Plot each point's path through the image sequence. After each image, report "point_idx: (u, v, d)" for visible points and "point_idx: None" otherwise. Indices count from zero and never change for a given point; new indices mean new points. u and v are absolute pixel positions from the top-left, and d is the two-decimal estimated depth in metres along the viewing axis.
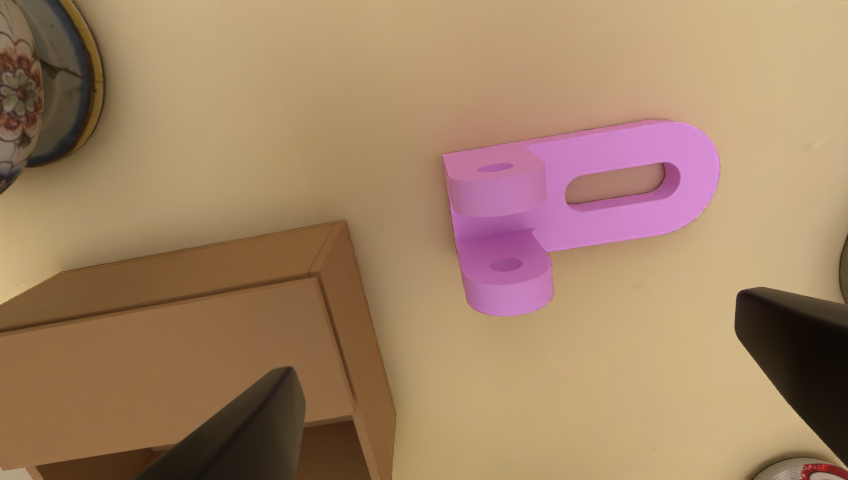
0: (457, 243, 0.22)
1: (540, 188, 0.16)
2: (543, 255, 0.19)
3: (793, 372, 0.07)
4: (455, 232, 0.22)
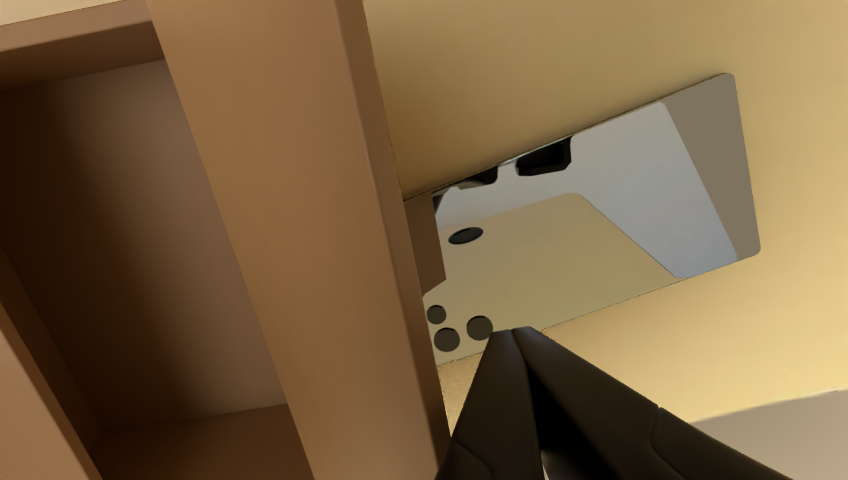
0: None
1: None
2: None
3: None
4: None
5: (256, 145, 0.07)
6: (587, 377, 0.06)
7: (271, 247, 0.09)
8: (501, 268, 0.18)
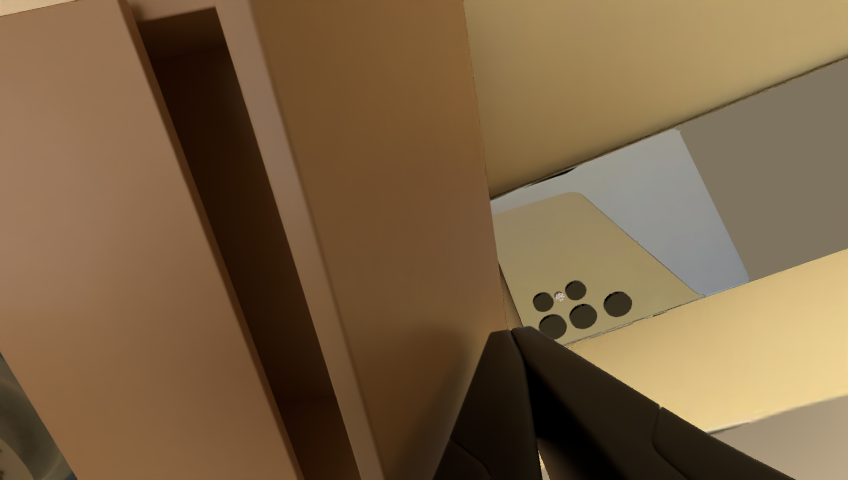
0: None
1: None
2: None
3: None
4: None
5: None
6: (588, 377, 0.06)
7: None
8: (647, 242, 0.18)
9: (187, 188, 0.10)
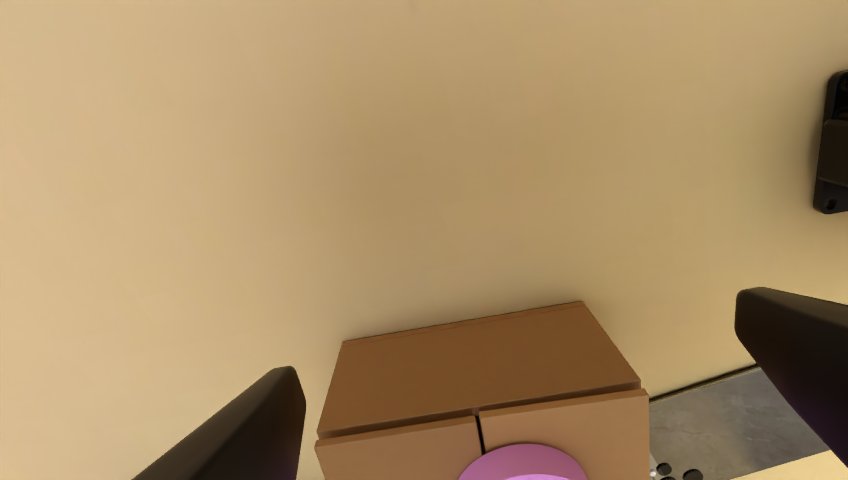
0: None
1: None
2: None
3: (793, 372, 0.07)
4: None
5: None
6: None
7: None
8: (715, 440, 0.26)
9: None
